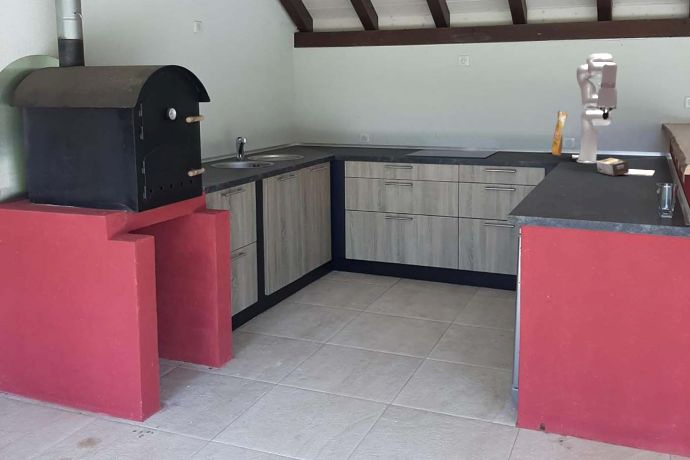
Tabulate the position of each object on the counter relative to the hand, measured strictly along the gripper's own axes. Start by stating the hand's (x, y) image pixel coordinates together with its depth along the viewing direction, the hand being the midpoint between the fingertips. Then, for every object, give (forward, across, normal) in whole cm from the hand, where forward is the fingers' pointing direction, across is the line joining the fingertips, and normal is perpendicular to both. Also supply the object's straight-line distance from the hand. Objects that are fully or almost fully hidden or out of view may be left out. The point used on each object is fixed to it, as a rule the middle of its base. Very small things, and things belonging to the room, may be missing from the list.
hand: (605, 119), depth 406 cm
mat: (+27, +19, -8) cm, 34 cm away
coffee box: (+24, +3, -11) cm, 26 cm away
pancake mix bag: (+30, -39, +61) cm, 78 cm away
